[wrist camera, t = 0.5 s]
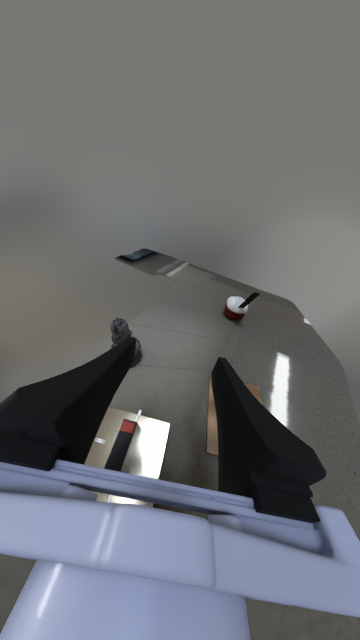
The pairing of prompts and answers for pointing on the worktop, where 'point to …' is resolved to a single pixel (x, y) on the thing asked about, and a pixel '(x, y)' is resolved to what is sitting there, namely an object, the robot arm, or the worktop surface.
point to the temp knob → (123, 446)
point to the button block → (212, 419)
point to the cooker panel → (144, 454)
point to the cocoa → (238, 306)
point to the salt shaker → (124, 337)
